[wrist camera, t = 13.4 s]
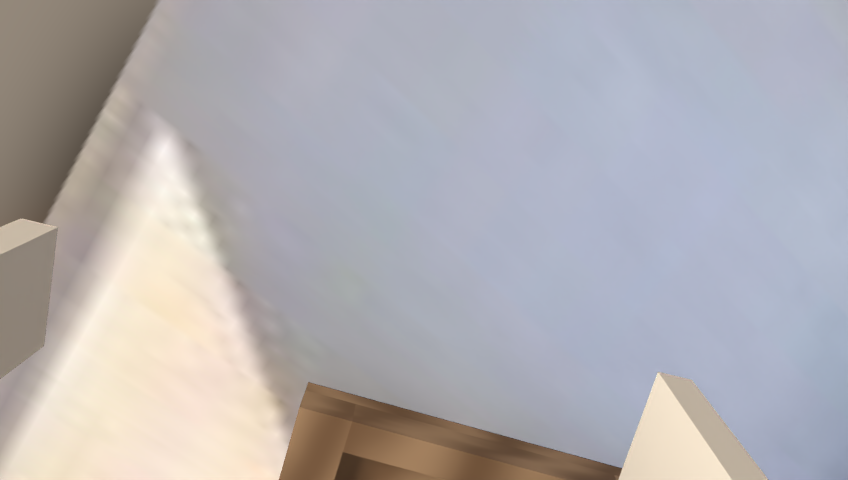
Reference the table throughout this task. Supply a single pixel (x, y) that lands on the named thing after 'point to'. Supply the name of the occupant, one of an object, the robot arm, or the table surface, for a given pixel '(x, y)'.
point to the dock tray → (413, 446)
